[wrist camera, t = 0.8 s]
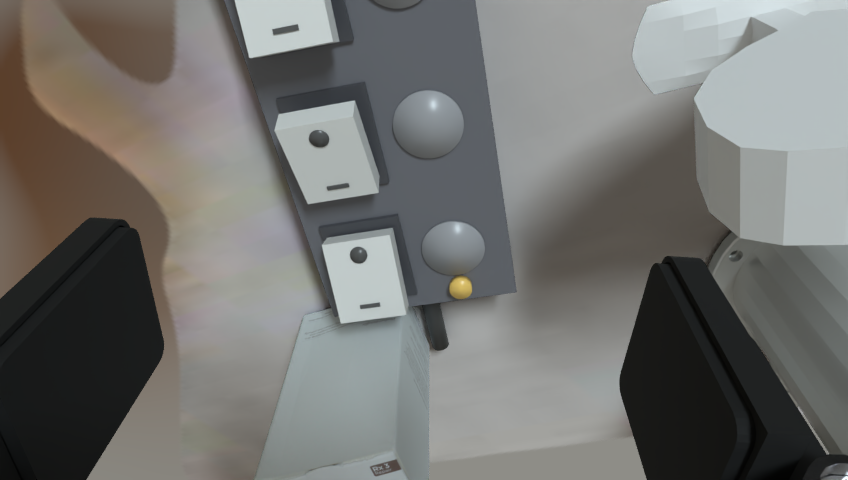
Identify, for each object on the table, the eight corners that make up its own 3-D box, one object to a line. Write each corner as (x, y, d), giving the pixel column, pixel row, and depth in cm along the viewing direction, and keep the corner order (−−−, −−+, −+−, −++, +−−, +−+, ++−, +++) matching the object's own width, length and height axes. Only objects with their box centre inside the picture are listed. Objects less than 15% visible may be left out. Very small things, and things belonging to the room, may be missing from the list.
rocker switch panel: (521, 328, 44) (527, 367, 41) (362, 348, 46) (356, 388, 42) (452, -150, 29) (453, -152, 25) (217, -96, 30) (187, -90, 27)
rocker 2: (379, 176, 34) (378, 193, 33) (310, 187, 34) (307, 205, 33) (354, 100, 30) (352, 117, 29) (278, 114, 31) (274, 131, 30)
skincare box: (333, 367, 47) (292, 552, 34) (300, 308, 44) (242, 488, 31) (436, 342, 45) (432, 527, 33) (408, 280, 42) (393, 457, 30)
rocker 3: (408, 305, 37) (406, 315, 35) (345, 313, 37) (340, 324, 36) (392, 227, 35) (389, 235, 34) (327, 237, 36) (321, 245, 34)
